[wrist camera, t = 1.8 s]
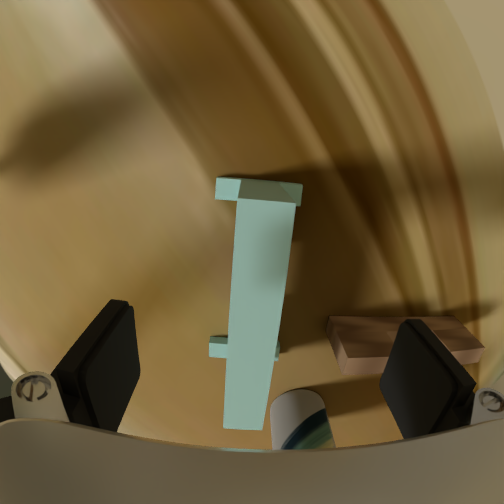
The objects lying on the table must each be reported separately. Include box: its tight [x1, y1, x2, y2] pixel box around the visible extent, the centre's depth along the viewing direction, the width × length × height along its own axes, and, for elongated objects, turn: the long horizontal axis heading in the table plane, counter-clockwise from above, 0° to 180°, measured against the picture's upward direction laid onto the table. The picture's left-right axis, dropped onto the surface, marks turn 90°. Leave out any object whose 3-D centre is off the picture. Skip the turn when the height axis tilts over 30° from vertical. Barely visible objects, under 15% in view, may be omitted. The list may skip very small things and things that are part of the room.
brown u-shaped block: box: [326, 316, 485, 375], centre depth 24 cm, size 14×2×6 cm, turn 85°
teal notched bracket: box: [209, 177, 303, 430], centre depth 20 cm, size 15×6×9 cm, turn 175°
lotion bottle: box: [270, 389, 336, 450], centre depth 20 cm, size 6×6×20 cm
